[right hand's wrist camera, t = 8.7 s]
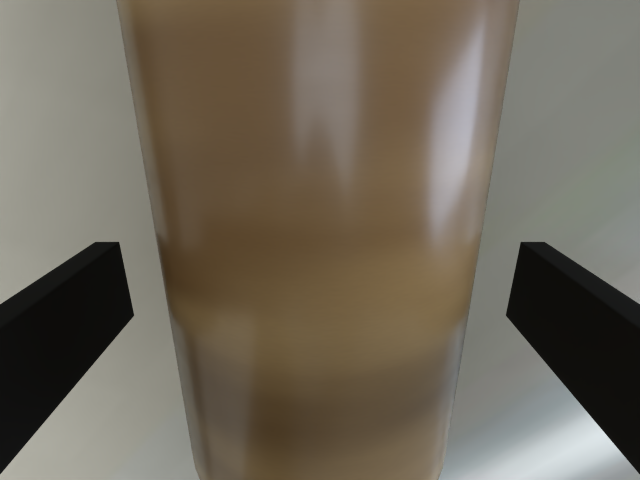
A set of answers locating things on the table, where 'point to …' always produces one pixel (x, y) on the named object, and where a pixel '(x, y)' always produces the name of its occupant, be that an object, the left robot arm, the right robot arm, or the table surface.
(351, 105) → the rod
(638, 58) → the table surface
